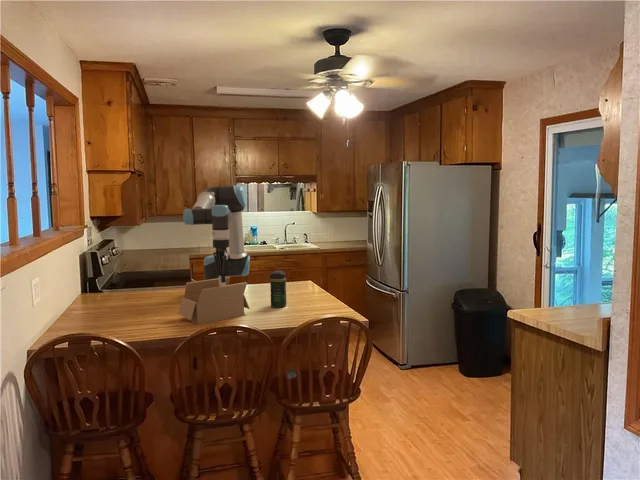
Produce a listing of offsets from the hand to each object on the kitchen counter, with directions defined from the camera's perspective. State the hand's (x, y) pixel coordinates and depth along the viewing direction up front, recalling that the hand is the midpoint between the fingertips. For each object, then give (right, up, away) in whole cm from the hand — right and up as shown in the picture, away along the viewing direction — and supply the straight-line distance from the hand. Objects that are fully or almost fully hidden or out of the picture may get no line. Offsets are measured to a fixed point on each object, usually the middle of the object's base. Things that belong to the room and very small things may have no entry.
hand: (222, 289), depth 237 cm
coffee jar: (+24, -12, +29) cm, 40 cm away
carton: (-6, -15, +11) cm, 19 cm away
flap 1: (-11, -4, +16) cm, 20 cm away
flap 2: (-1, -5, +3) cm, 6 cm away
